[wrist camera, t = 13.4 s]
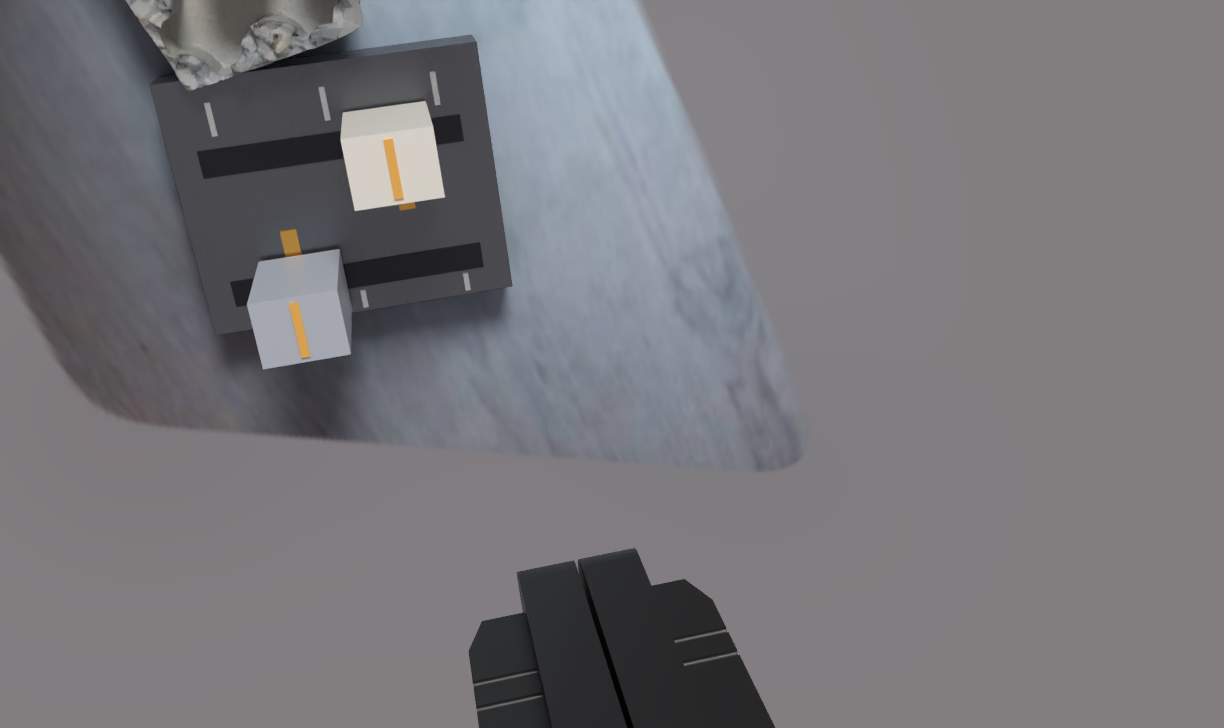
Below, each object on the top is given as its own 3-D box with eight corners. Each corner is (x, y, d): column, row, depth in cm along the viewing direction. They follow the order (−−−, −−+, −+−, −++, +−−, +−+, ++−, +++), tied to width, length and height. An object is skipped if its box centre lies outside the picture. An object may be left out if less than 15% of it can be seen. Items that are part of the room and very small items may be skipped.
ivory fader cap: (342, 112, 41) (340, 140, 36) (425, 100, 41) (433, 126, 37) (355, 177, 42) (354, 211, 37) (436, 165, 42) (445, 197, 38)
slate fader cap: (258, 261, 42) (246, 305, 38) (339, 248, 43) (337, 290, 38) (273, 321, 43) (262, 370, 39) (352, 307, 44) (350, 355, 39)
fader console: (158, 76, 41) (149, 85, 39) (471, 34, 43) (476, 41, 41) (221, 317, 45) (215, 336, 43) (506, 270, 47) (512, 286, 45)
